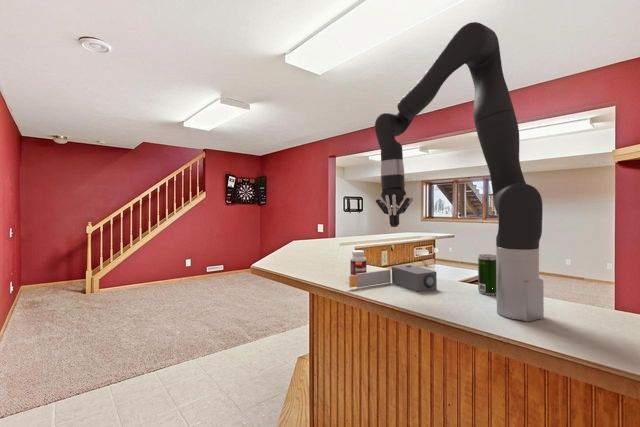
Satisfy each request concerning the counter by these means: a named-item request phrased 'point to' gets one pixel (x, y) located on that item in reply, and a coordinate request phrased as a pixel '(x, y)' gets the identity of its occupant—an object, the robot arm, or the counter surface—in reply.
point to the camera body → (414, 278)
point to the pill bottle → (357, 262)
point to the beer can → (487, 274)
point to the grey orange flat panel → (370, 278)
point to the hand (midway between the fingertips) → (394, 226)
